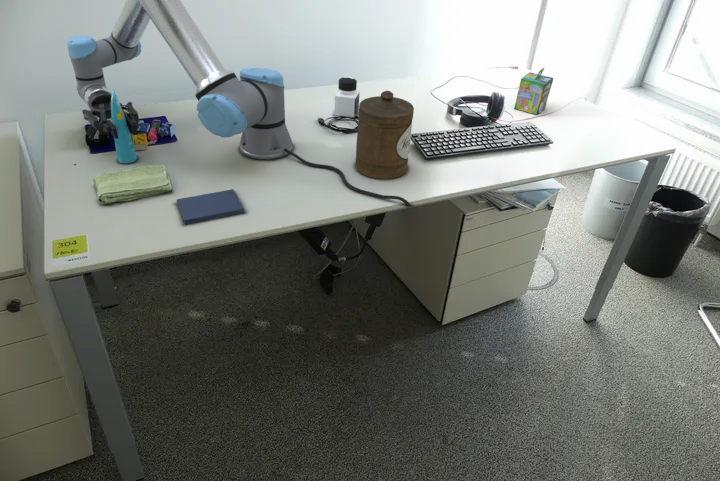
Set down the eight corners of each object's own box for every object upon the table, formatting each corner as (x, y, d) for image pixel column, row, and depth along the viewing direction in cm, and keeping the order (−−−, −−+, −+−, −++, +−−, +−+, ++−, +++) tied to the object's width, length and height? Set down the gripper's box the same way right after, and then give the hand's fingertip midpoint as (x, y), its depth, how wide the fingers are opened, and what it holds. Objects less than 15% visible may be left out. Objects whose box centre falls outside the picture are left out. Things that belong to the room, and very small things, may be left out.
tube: (138, 164, 143) (123, 96, 132) (119, 167, 141) (102, 98, 130) (135, 152, 148) (120, 86, 137) (116, 155, 146) (100, 88, 135)
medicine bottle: (354, 118, 176) (356, 83, 169) (334, 115, 177) (334, 80, 170) (358, 110, 182) (360, 76, 175) (339, 108, 183) (339, 74, 176)
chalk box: (522, 102, 196) (531, 62, 187) (545, 108, 192) (556, 68, 183) (512, 109, 190) (522, 68, 181) (537, 115, 186) (547, 74, 177)
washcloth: (175, 193, 131) (173, 181, 129) (99, 207, 124) (95, 196, 122) (164, 170, 141) (162, 159, 139) (93, 183, 133) (90, 171, 132)
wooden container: (411, 179, 143) (420, 102, 130) (357, 179, 141) (361, 101, 129) (403, 155, 155) (410, 82, 142) (353, 154, 153) (356, 81, 141)
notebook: (233, 193, 133) (233, 188, 132) (244, 212, 125) (243, 208, 125) (177, 203, 127) (176, 199, 127) (184, 224, 120) (184, 220, 120)
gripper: (135, 109, 157) (161, 138, 141) (73, 120, 148) (93, 152, 133) (129, 85, 152) (155, 111, 137) (66, 95, 144) (86, 124, 129)
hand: (125, 131), depth 135 cm, fingers closed on tube, 4 cm apart
